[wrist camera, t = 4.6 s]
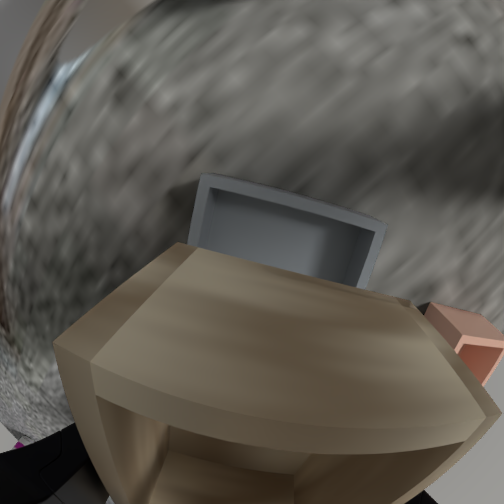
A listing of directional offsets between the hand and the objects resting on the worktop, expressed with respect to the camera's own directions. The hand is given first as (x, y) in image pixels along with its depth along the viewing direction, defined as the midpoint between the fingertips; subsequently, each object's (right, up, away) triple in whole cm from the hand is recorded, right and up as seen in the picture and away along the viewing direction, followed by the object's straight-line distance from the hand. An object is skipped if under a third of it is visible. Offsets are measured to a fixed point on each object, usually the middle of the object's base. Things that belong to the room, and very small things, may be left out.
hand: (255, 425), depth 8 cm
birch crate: (0, 0, +1) cm, 1 cm away
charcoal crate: (+1, +3, +11) cm, 11 cm away
